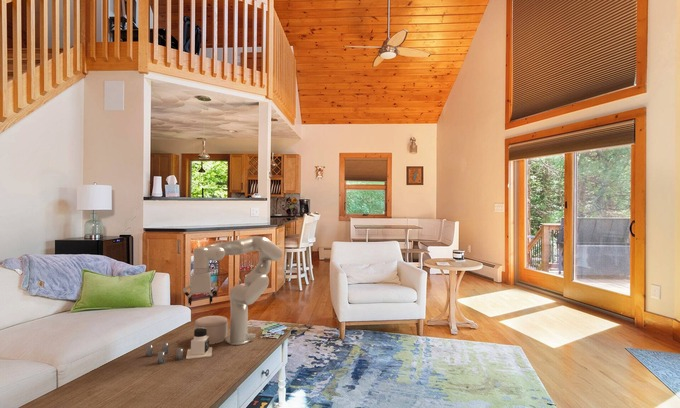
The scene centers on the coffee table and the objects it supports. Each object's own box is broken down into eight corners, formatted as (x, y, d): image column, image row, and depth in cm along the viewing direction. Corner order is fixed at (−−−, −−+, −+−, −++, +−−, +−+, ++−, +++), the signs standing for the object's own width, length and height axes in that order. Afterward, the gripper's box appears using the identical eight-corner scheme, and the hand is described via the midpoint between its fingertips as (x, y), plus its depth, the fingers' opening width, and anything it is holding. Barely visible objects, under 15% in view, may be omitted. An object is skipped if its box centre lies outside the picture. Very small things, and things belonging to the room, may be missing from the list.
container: (199, 347, 195) (199, 325, 195) (190, 338, 209) (190, 318, 210) (231, 341, 206) (232, 320, 206) (221, 332, 220) (221, 313, 221)
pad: (212, 348, 195) (212, 347, 195) (211, 356, 183) (211, 355, 183) (187, 350, 191) (188, 349, 191) (185, 359, 179) (185, 357, 179)
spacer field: (185, 350, 191) (185, 340, 191) (182, 361, 176) (182, 351, 176) (147, 353, 186) (147, 343, 186) (140, 366, 170) (140, 355, 171)
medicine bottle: (204, 354, 184) (205, 330, 184) (190, 354, 184) (191, 330, 184) (208, 349, 191) (209, 326, 191) (195, 349, 191) (195, 326, 191)
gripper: (218, 269, 196) (217, 301, 195) (183, 270, 190) (182, 303, 190) (218, 271, 189) (218, 304, 188) (182, 273, 183) (181, 307, 183)
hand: (200, 304), depth 189 cm, fingers open, 9 cm apart
